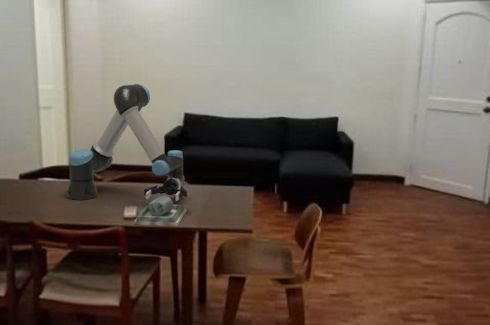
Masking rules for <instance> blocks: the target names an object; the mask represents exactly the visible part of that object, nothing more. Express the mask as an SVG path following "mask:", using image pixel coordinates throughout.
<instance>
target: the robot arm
mask: <svg viewBox="0 0 490 325" xmlns="http://www.w3.org/2000/svg"><path fill="white" fill-rule="evenodd" d="M150 100H151V94H150V91H149V89H148V88H147V87H146V86H145V85H144V84H138V83H134V84H123V85H121V86H119V87H118V88H117V89H116V90H115V91H114V94H113V103H114V107H115V109H116V111H115V112H114V114H113V116H112V117H111V119H110V121H109V123H108V125H107V126H106V127H105V130H104V131H103V133H102V134H101V137H100V138H99V140H98V141H97V142H94V143H92V146H91V147H90V149H85V148H84V149H76V150H74V151H71V153H69V155H68V165H69V167H68V168H69V170H68V171H69V184H68V188H67V192H66V198H67V199H70V200H74V201H75V200H76V201H79V200H83V201H84V200H92V199H94V198H97V197H98V196H99V194H98V193H99V192H98V188H97V186H96V184H95V182H94V180H95V179H94V174H95V173H98V172H101V171H104V170H107V168H109V167H110V166H111V165H112V164H113V161H114V160H113V159H114V158H113V156H114V154H115V153H114V149H115V147H116V145H117V144H118V142H119V140H120V138H121V137H122V135H123V134H124V132H125V130H127V129H126V128H128V127H129V128H130V129H131V132H133V135H134V136H135V138H136V139H137V141H138V143H139V144H140V146H141V147H142V149H143V150H144V152H145V153H146V155H147V157H148V159H149V160H150V162H151V164H152V166H151V171H152V172H153V174H154V175H155V176H156V177H157V176H158V177H163V176H166V175H167V179H166V180H165V181H164V182H163V183H162V186H161V185H160V186H158V184H157V185H154V186H152V187H151V186H150V187H148V188H145V189H143V195H144V196H145V200H149V199H150V197H152V196H153V195H156V194H157V195H159V194H161V195H162V194H166V196H167V195H168V196H173V195H175V202H177V201H179V199H181V198H183V197H188V191H187V189H186V188H184V186H183V185H184V183H185V176H184V156H183V151H181V150H179V149H178V150H176V149H175V150H174V149H173V150H168V152H167V155H166V154H165V152H164V150H163V149H162V147H161V146H160V144H159V142H158V141H157V139H156V137H155V136H154V134H153V132H152V131H151V129H150V127H149V126H148V124H147V122H146V121H145V119H144V118H143V116H142V114H141V113H140V112H141V110H142V108H144V107H146V106H147V105H149V103H150Z"/></svg>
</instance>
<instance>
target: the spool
mask: <svg viewBox="0 0 490 325" xmlns="http://www.w3.org/2000/svg"><path fill="white" fill-rule="evenodd" d="M148 204H149V212H150V213H151V214H152V216H159V217H161V216H162V215H164V214H166V213H168V212H170V211H171V210H172V209H173V205H174V203H173V199H171V197H170V196H167V195H162V196H158V197H156V198H155V199H153V200H151V202H150V203H148Z"/></svg>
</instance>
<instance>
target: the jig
mask: <svg viewBox="0 0 490 325" xmlns="http://www.w3.org/2000/svg"><path fill="white" fill-rule="evenodd" d="M149 204H150V203H147V204H146V205H145V206H144V208H142V210H141V211H140V212H139V213H138V214H137V216H136V219H134V221H133V225H134V224H138V226H139V225H140V226H160V227H161V226H162V227H178V226H179V225H180V223H181V221H182V219H183V218H184V216H185V214H186V213H187V208H185V205H184V204H173V209H172V210H171V211H170V212H168V213H166V214H164V215H162V216H161V217H159V216H152V214H151V213H150V212H149Z"/></svg>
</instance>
